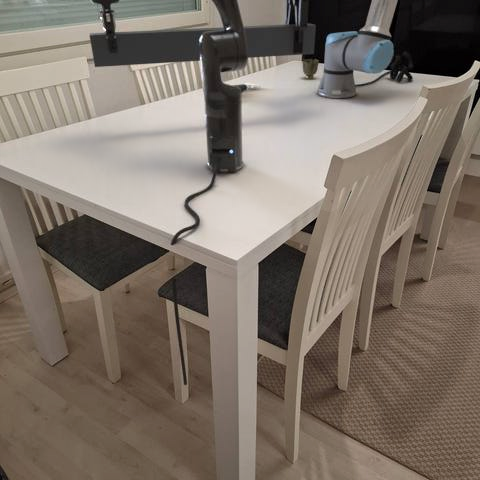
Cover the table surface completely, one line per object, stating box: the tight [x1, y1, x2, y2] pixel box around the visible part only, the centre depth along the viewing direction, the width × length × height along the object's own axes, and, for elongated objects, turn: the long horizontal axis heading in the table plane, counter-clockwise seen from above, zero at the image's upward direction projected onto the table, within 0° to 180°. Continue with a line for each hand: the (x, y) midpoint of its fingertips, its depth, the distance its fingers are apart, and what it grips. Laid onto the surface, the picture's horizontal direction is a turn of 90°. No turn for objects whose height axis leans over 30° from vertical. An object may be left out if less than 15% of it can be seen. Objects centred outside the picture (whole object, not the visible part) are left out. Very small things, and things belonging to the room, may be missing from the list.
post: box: [89, 22, 317, 68], centre depth 134 cm, size 67×5×8 cm, turn 105°
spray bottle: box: [231, 82, 261, 94], centre depth 184 cm, size 3×11×25 cm
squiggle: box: [387, 51, 414, 83], centre depth 198 cm, size 11×10×15 cm
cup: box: [301, 58, 320, 80], centre depth 204 cm, size 8×7×8 cm
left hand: (113, 50), depth 128 cm, fingers closed on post, 4 cm apart
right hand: (294, 51), depth 142 cm, fingers closed on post, 5 cm apart
